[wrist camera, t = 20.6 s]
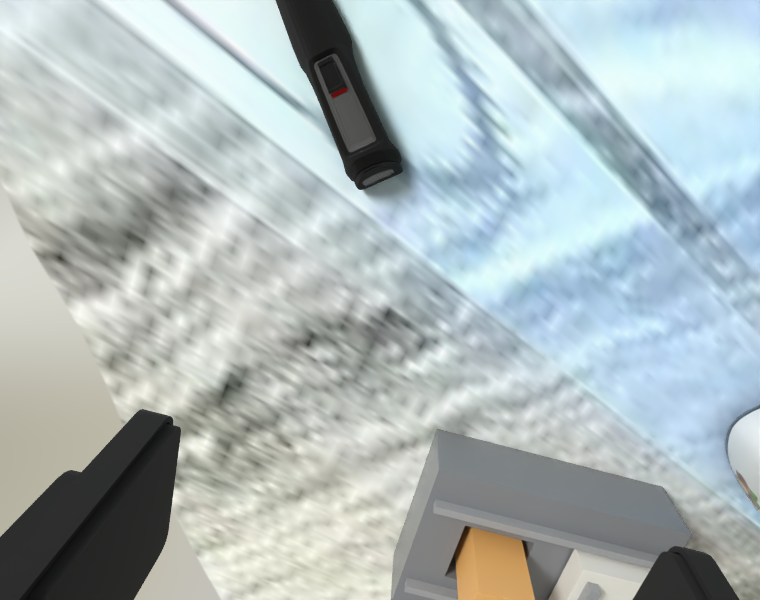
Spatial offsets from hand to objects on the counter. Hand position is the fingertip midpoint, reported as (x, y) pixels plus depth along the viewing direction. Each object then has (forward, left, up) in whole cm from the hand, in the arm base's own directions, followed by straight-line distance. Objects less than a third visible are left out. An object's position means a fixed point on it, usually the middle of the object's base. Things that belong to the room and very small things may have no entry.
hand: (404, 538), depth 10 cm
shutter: (-21, +23, -23) cm, 39 cm away
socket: (-16, +23, -28) cm, 40 cm away
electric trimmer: (+8, -8, -29) cm, 31 cm away
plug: (-12, +23, -28) cm, 38 cm away
